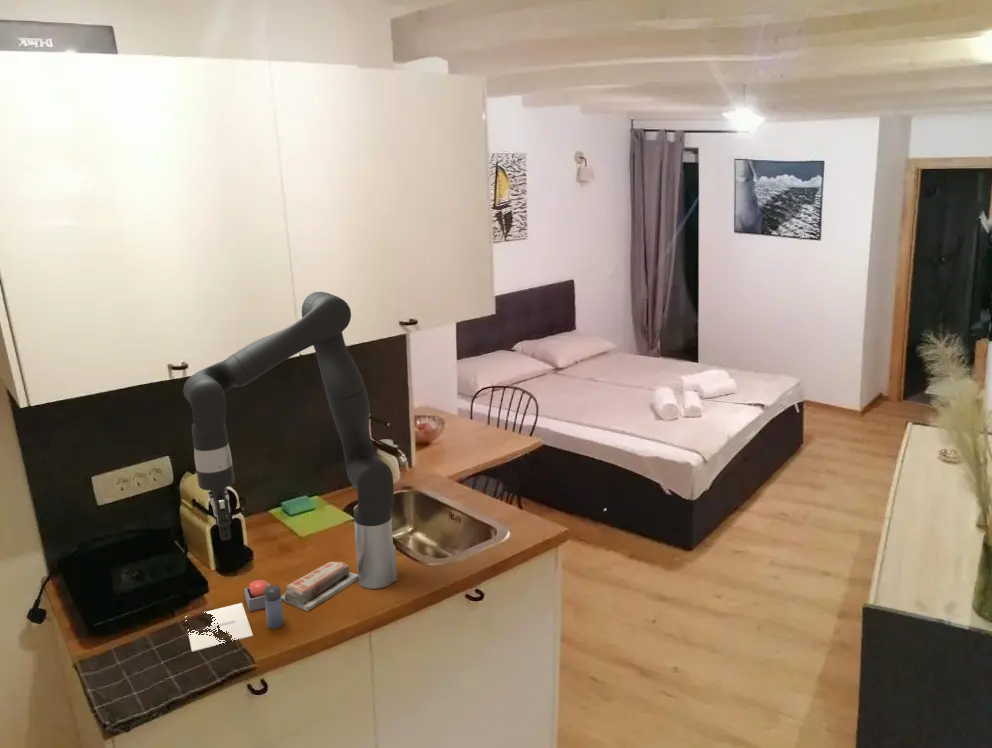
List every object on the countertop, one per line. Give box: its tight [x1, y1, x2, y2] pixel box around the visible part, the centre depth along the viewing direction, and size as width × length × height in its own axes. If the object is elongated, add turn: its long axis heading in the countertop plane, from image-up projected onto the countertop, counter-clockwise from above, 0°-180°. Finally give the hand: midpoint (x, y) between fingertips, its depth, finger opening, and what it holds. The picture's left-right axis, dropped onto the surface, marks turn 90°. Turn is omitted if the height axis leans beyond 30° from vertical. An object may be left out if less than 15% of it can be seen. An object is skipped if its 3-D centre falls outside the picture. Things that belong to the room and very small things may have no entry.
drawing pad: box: [184, 602, 254, 653], centre depth 181 cm, size 13×15×1 cm
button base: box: [243, 582, 271, 613], centre depth 190 cm, size 6×6×3 cm
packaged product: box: [281, 561, 358, 612], centre depth 196 cm, size 18×5×10 cm
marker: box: [264, 584, 284, 629], centre depth 181 cm, size 4×4×9 cm
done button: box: [249, 579, 268, 598], centre depth 190 cm, size 4×4×3 cm
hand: (223, 531), depth 176 cm, fingers open, 8 cm apart
